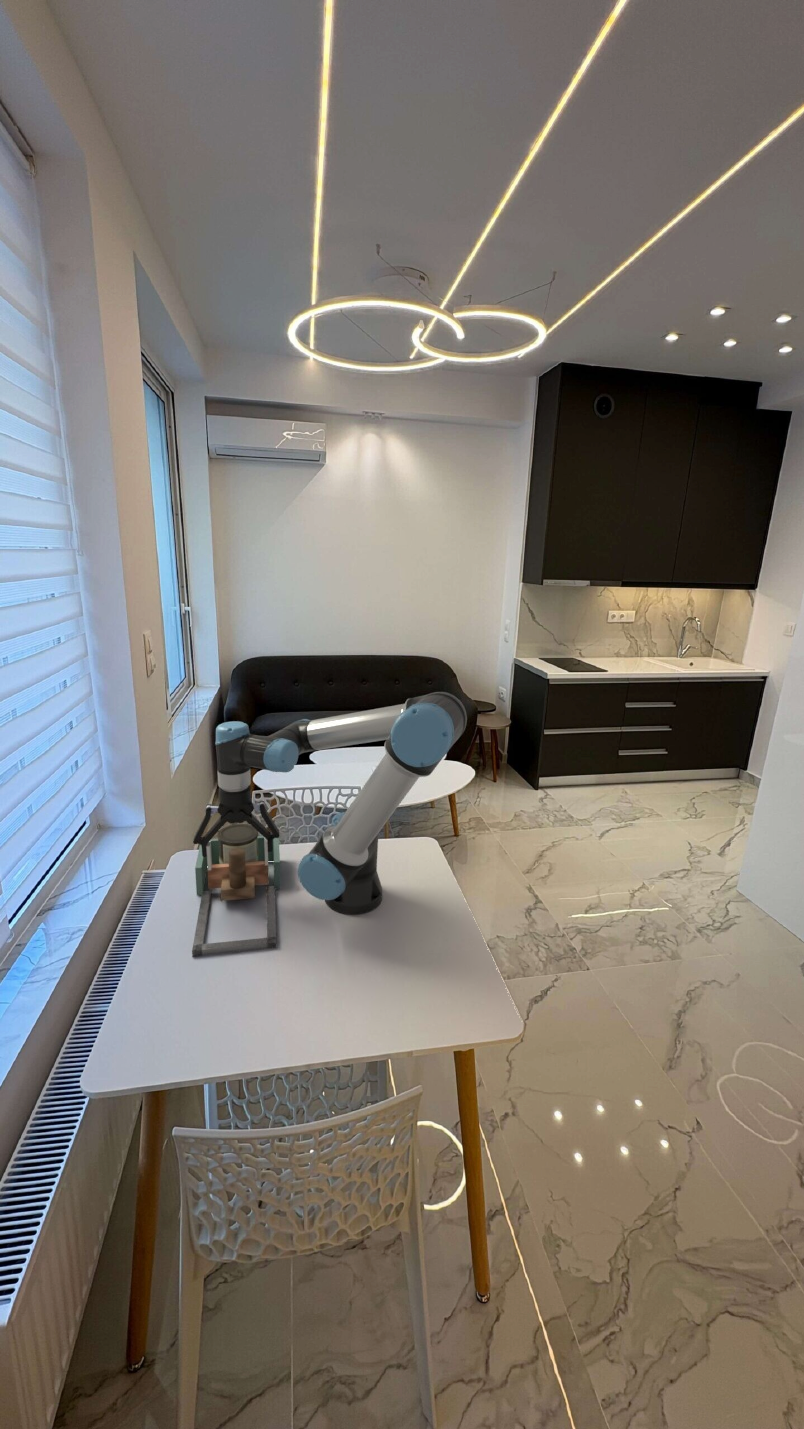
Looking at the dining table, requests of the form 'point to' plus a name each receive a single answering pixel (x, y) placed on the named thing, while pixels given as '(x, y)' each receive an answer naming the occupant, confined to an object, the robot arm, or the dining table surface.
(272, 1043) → the dining table surface
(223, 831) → the coffee can
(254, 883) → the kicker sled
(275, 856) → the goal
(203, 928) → the track
